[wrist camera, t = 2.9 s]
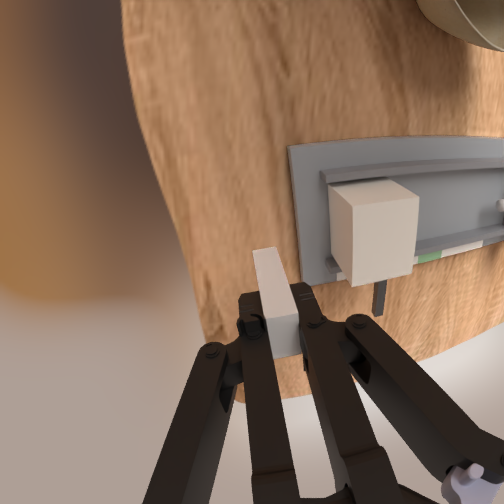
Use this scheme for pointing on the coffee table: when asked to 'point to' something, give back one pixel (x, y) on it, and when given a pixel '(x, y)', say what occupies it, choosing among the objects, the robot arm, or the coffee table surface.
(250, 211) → the coffee table surface
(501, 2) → the flower pot
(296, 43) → the coffee table surface
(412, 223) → the cream block
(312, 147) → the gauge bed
